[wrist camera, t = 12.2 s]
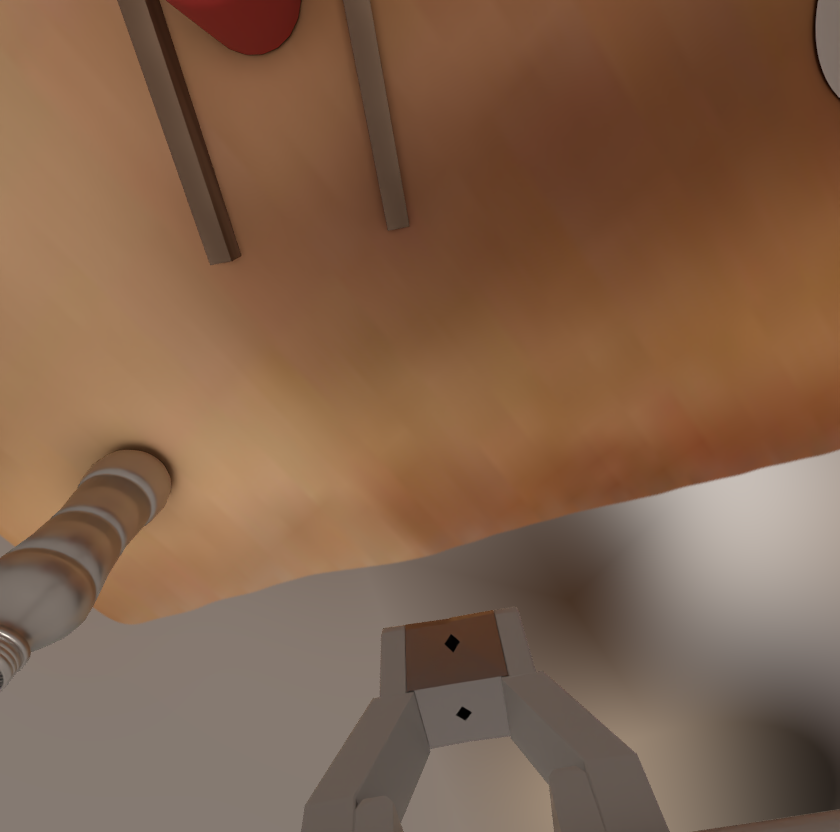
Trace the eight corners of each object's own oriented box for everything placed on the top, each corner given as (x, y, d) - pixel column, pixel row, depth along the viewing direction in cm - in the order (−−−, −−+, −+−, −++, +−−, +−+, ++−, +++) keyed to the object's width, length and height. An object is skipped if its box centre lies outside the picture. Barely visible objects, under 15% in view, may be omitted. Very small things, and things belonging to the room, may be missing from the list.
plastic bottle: (85, 471, 44) (-128, 676, 26) (133, 425, 42) (-58, 610, 24) (147, 515, 46) (-9, 732, 28) (195, 473, 45) (62, 675, 27)
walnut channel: (334, -194, 27) (329, -227, 25) (408, 223, 37) (409, 226, 34) (86, -138, 28) (59, -167, 25) (221, 259, 37) (210, 265, 35)
